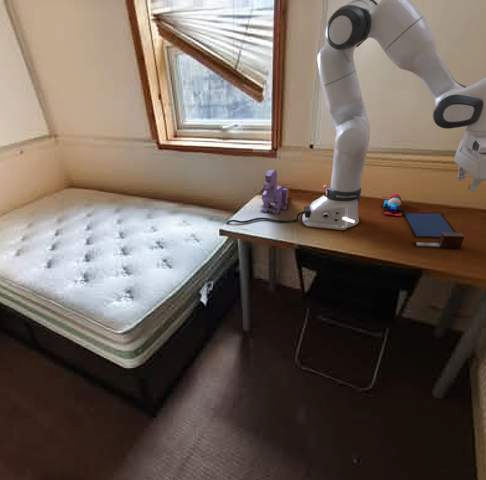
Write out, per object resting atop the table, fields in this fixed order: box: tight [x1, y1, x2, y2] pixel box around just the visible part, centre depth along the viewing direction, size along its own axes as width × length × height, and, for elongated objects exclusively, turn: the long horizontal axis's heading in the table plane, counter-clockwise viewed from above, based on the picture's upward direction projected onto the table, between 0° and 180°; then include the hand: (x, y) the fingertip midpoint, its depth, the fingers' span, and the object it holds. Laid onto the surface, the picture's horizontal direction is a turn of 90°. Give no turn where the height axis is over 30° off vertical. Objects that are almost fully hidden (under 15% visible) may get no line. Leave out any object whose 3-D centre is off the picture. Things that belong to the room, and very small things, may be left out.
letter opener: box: [415, 232, 465, 249], centre depth 113 cm, size 13×3×5 cm, turn 76°
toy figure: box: [383, 193, 405, 217], centre depth 140 cm, size 8×5×15 cm
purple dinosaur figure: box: [260, 169, 290, 215], centre depth 149 cm, size 12×25×19 cm, turn 149°
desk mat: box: [404, 212, 455, 239], centre depth 126 cm, size 13×20×1 cm, turn 166°
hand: (466, 185), depth 104 cm, fingers open, 8 cm apart
